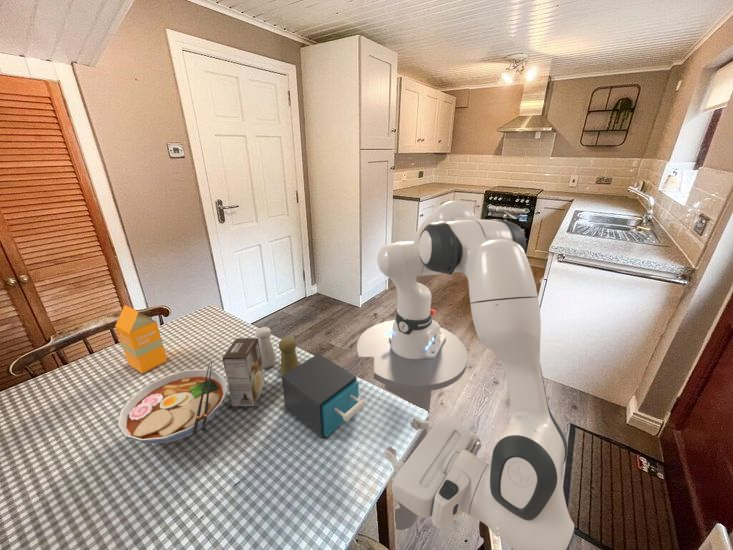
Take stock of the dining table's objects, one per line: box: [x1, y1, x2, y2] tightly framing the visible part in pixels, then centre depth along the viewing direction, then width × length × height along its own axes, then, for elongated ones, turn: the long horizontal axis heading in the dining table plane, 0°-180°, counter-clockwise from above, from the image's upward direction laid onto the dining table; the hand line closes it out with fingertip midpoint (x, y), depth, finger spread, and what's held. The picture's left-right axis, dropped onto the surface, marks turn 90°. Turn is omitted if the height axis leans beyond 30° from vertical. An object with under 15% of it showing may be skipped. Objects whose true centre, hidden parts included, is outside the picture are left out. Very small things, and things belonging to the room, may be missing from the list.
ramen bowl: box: [117, 361, 228, 445], centre depth 75 cm, size 25×23×8 cm
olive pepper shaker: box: [278, 337, 300, 376], centre depth 94 cm, size 6×6×11 cm
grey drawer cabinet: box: [281, 353, 357, 439], centre depth 79 cm, size 15×13×11 cm
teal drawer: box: [322, 380, 367, 437], centre depth 77 cm, size 18×11×9 cm, turn 50°
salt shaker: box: [255, 326, 277, 369], centre depth 96 cm, size 6×6×13 cm
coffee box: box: [222, 337, 266, 407], centre depth 83 cm, size 9×6×16 cm
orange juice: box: [114, 304, 168, 374], centre depth 95 cm, size 8×9×20 cm
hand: (400, 435), depth 63 cm, fingers open, 8 cm apart
